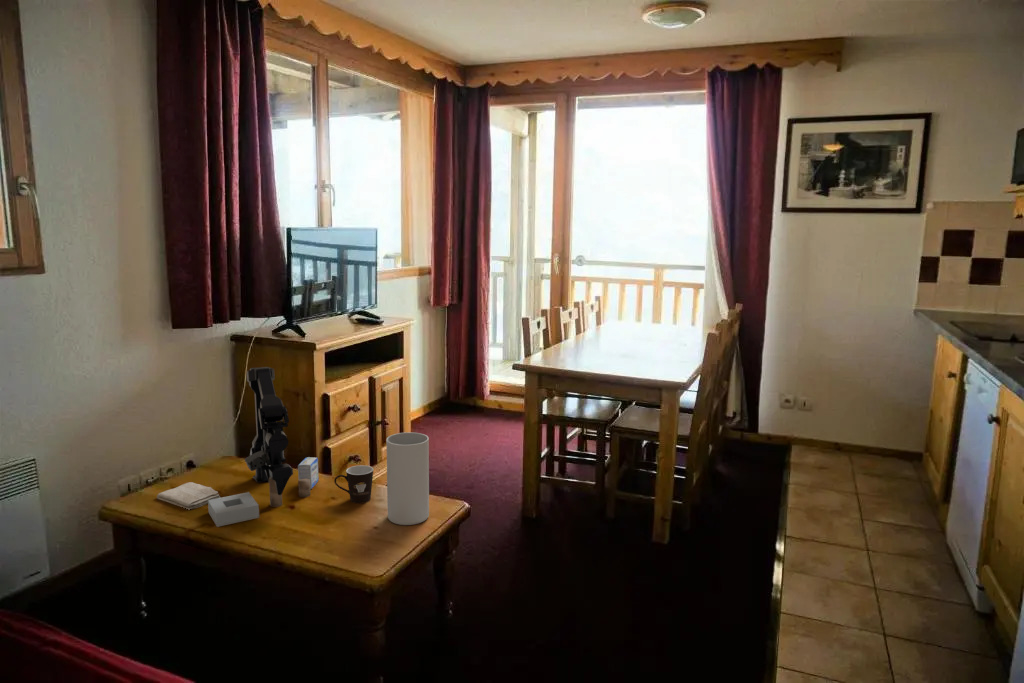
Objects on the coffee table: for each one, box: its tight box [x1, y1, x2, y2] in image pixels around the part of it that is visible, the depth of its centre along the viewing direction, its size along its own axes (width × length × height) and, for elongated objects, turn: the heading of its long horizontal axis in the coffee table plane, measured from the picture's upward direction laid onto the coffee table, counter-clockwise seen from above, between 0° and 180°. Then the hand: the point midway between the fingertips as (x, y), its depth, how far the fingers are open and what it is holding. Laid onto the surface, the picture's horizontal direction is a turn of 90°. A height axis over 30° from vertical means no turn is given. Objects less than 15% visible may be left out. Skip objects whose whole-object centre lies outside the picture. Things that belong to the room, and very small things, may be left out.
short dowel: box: [298, 479, 311, 498], centre depth 223 cm, size 4×4×5 cm
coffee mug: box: [334, 464, 374, 504], centre depth 220 cm, size 12×9×10 cm
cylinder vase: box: [386, 432, 430, 526], centre depth 205 cm, size 12×12×25 cm
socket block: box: [207, 491, 260, 528], centre depth 207 cm, size 12×12×4 cm
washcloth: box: [156, 481, 222, 511], centre depth 219 cm, size 12×18×3 cm, turn 60°
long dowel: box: [268, 477, 283, 508], centre depth 214 cm, size 4×4×9 cm
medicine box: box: [297, 456, 319, 490], centre depth 231 cm, size 8×4×9 cm, turn 179°
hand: (275, 490), depth 214 cm, fingers open, 9 cm apart
